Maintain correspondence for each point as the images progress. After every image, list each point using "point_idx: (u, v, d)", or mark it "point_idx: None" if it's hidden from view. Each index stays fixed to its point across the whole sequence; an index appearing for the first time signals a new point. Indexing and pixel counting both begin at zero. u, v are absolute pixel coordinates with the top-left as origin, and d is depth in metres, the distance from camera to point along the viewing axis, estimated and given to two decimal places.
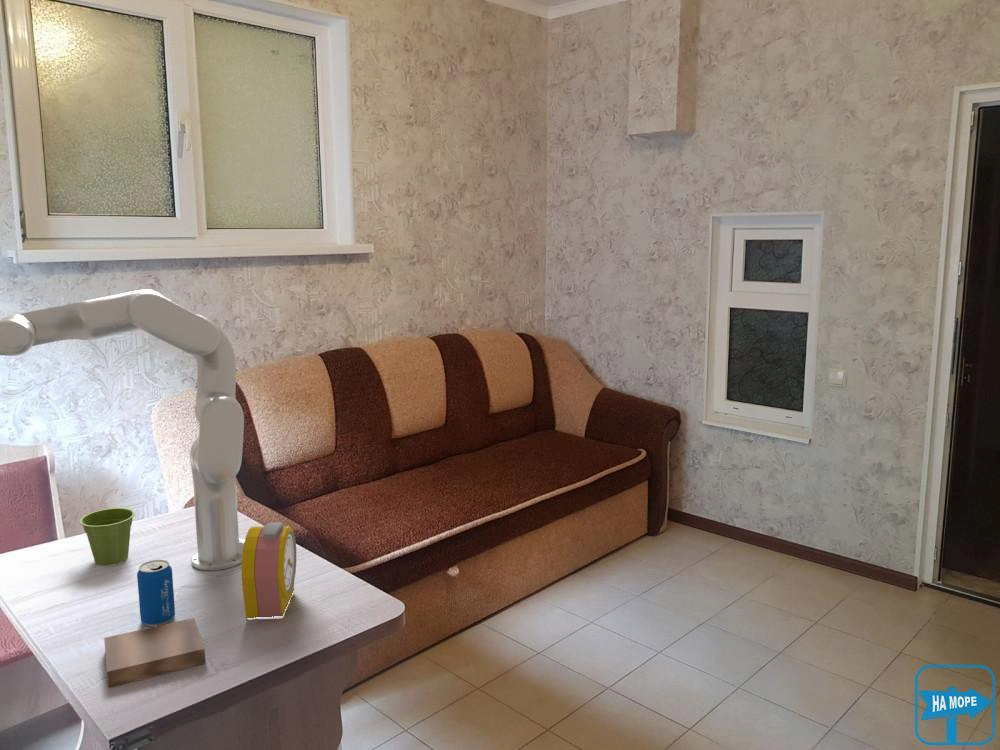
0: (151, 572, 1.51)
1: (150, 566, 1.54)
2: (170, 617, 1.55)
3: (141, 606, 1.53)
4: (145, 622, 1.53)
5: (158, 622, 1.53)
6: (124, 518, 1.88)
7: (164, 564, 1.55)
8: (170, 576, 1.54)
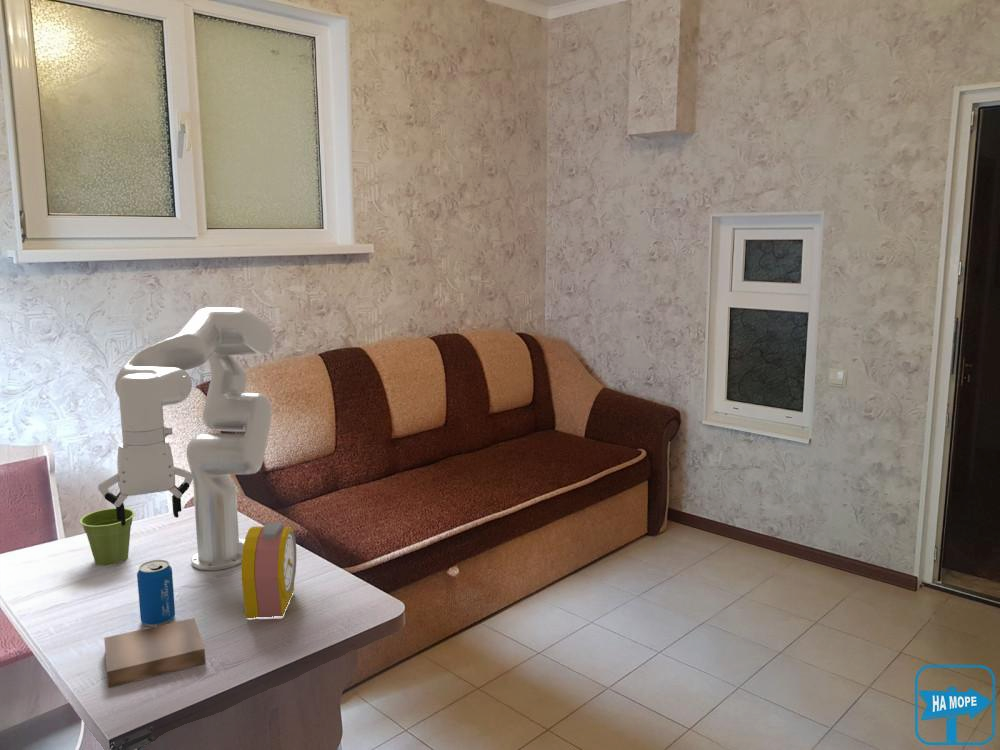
0: (151, 572, 1.51)
1: (150, 566, 1.54)
2: (170, 617, 1.55)
3: (141, 606, 1.53)
4: (145, 622, 1.53)
5: (158, 622, 1.53)
6: None
7: (164, 564, 1.55)
8: (170, 576, 1.54)
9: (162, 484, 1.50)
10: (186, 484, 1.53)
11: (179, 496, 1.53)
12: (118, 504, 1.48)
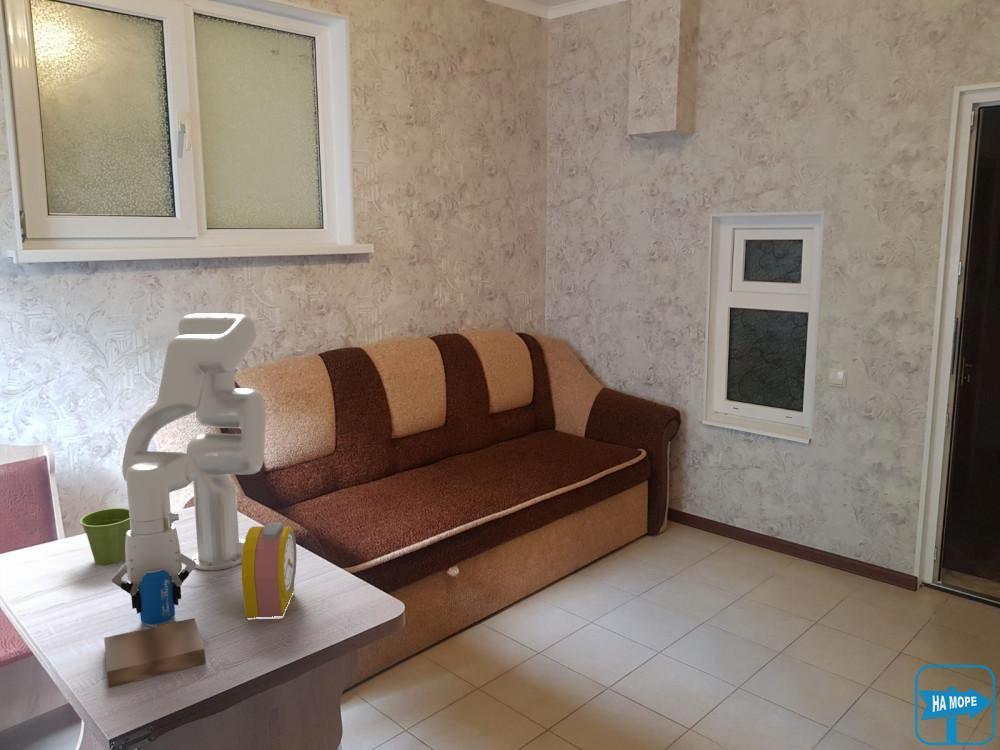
0: (151, 572, 1.51)
1: None
2: (170, 617, 1.55)
3: (141, 606, 1.53)
4: (145, 622, 1.53)
5: (158, 622, 1.53)
6: (124, 518, 1.88)
7: None
8: (170, 576, 1.54)
9: (169, 570, 1.53)
10: (186, 572, 1.56)
11: (179, 584, 1.56)
12: (133, 593, 1.52)
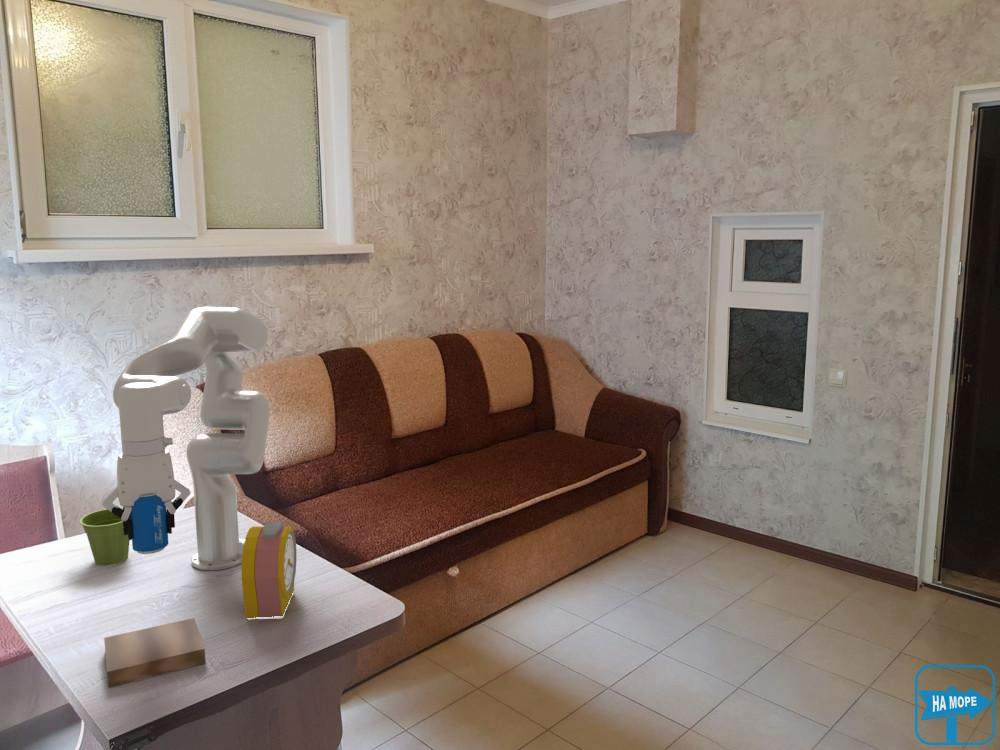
0: (143, 496, 1.46)
1: None
2: (163, 545, 1.49)
3: (133, 532, 1.47)
4: (137, 549, 1.47)
5: (150, 549, 1.47)
6: None
7: None
8: (163, 502, 1.49)
9: (162, 495, 1.48)
10: (180, 500, 1.51)
11: (172, 512, 1.50)
12: (125, 518, 1.46)
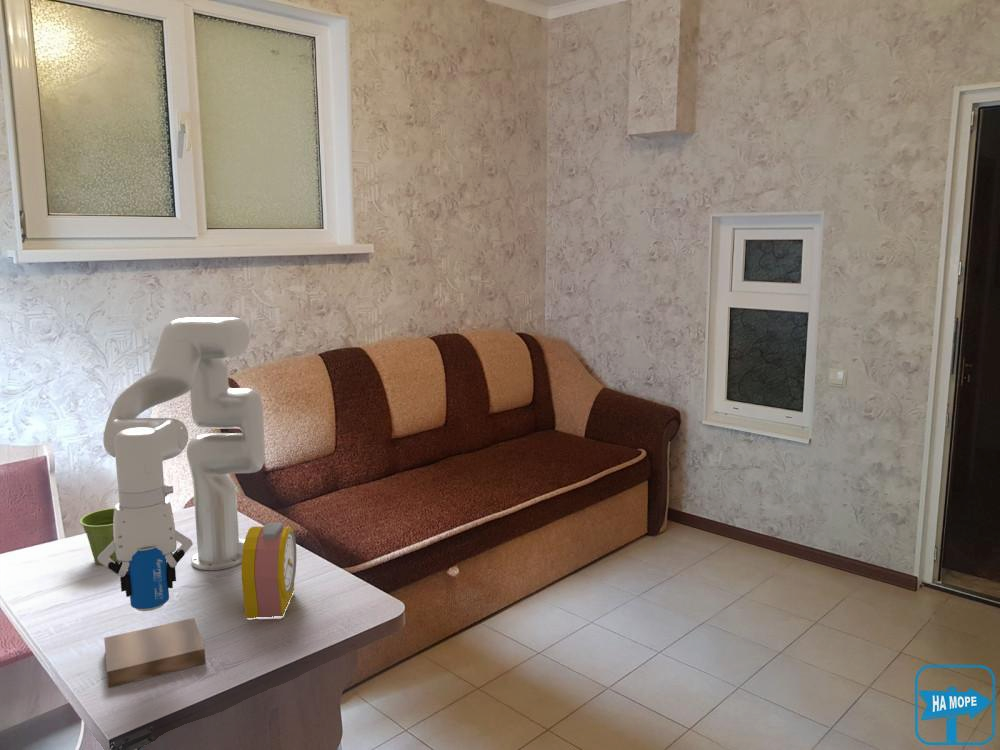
0: (142, 550, 1.36)
1: None
2: (163, 601, 1.39)
3: (131, 588, 1.37)
4: (135, 606, 1.37)
5: (150, 606, 1.37)
6: None
7: None
8: (163, 555, 1.38)
9: (162, 548, 1.38)
10: (181, 552, 1.41)
11: (173, 565, 1.40)
12: (122, 574, 1.36)
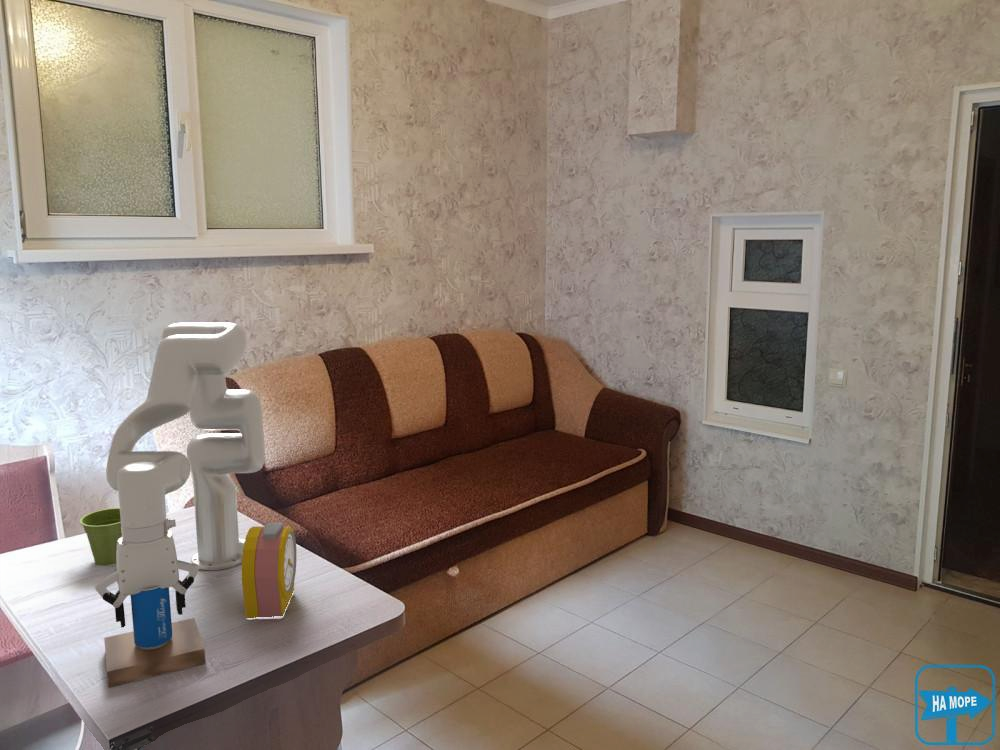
0: (146, 590, 1.37)
1: None
2: (167, 639, 1.41)
3: (135, 627, 1.38)
4: (139, 645, 1.39)
5: (154, 645, 1.39)
6: None
7: None
8: (167, 594, 1.40)
9: (164, 581, 1.39)
10: (190, 579, 1.42)
11: (183, 592, 1.42)
12: (117, 604, 1.36)
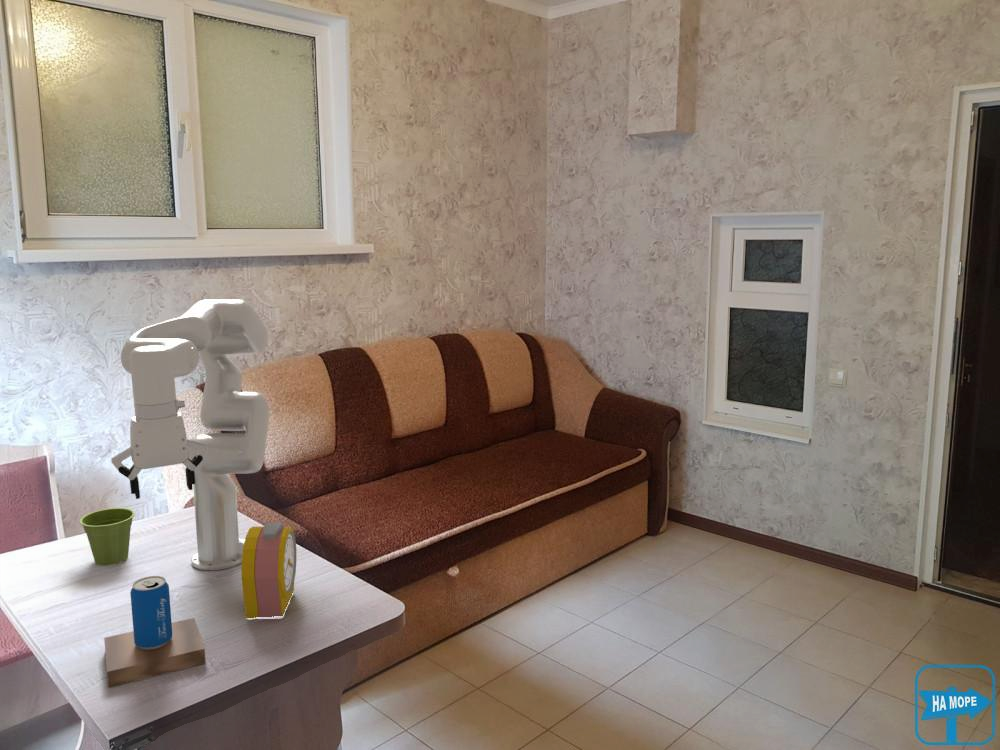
0: (146, 590, 1.37)
1: (145, 583, 1.40)
2: (167, 639, 1.41)
3: (135, 627, 1.38)
4: (139, 645, 1.39)
5: (154, 645, 1.39)
6: (124, 518, 1.88)
7: (160, 581, 1.41)
8: (167, 594, 1.40)
9: (175, 457, 1.49)
10: (199, 457, 1.53)
11: (193, 469, 1.52)
12: (132, 477, 1.47)
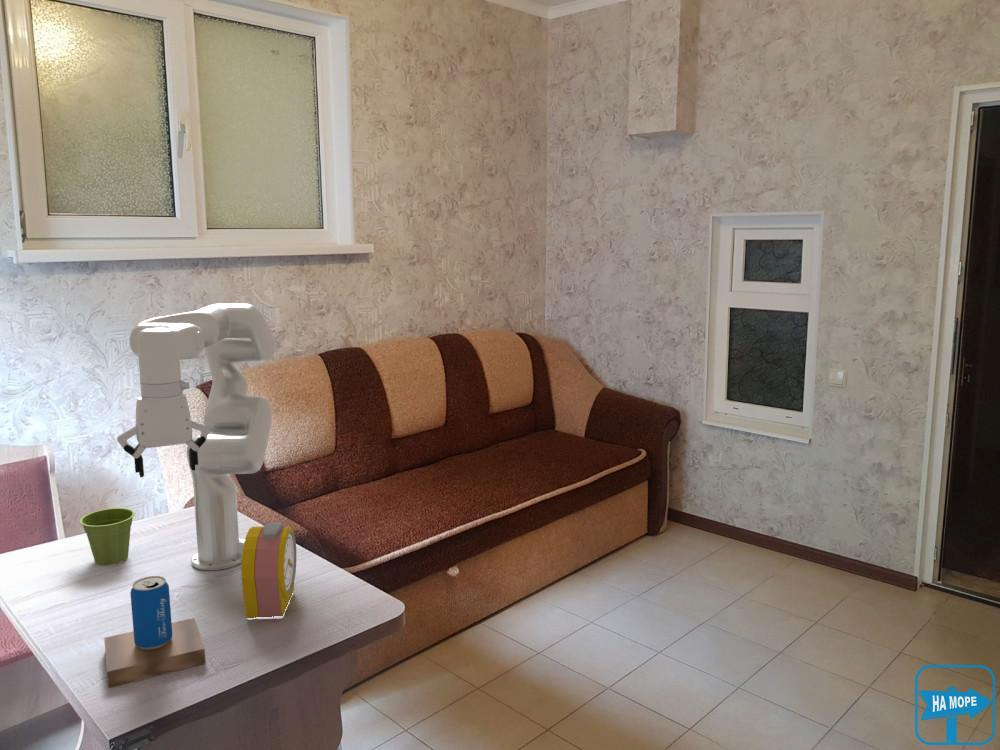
0: (146, 590, 1.37)
1: (145, 583, 1.40)
2: (167, 639, 1.41)
3: (135, 627, 1.38)
4: (139, 645, 1.39)
5: (154, 645, 1.39)
6: (124, 518, 1.88)
7: (160, 581, 1.41)
8: (167, 594, 1.40)
9: (179, 437, 1.53)
10: (203, 438, 1.57)
11: (196, 449, 1.56)
12: (137, 456, 1.51)
